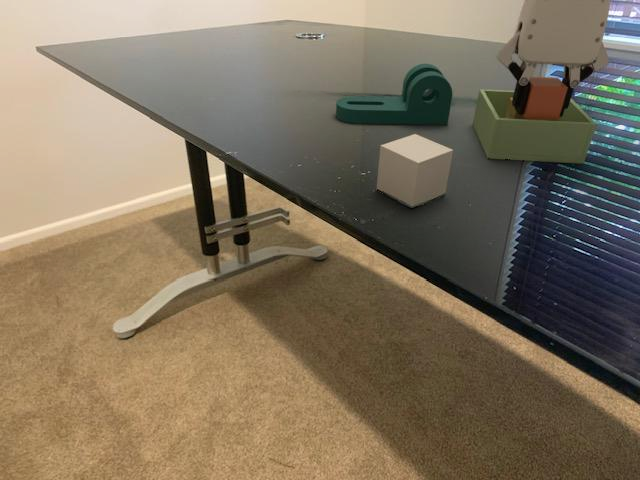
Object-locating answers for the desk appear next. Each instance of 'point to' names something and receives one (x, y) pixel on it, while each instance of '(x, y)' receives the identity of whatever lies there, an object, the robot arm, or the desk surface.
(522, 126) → the basket
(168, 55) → the desk surface
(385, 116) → the bracket
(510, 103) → the maple block
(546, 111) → the terracotta block
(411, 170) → the white cube
